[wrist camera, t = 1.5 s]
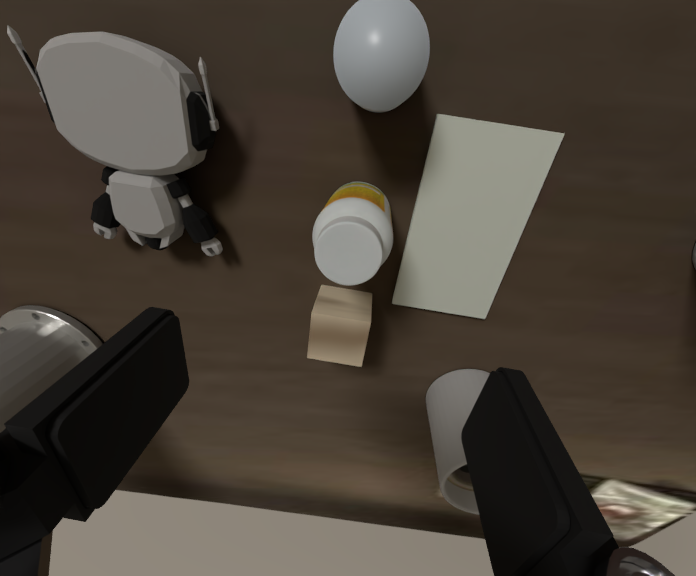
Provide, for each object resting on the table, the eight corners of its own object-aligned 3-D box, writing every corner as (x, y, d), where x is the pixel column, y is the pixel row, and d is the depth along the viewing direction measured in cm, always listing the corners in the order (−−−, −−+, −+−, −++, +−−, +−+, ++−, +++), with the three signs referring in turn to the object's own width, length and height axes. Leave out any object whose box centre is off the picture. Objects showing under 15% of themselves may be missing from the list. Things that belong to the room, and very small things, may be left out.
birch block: (364, 333, 32) (361, 367, 28) (317, 325, 32) (307, 357, 28) (372, 292, 30) (371, 322, 26) (321, 284, 30) (311, 312, 26)
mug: (469, 354, 32) (502, 441, 24) (527, 400, 35) (577, 494, 26) (397, 406, 37) (403, 495, 28) (452, 443, 39) (473, 536, 30)
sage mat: (483, 316, 30) (484, 319, 29) (391, 301, 30) (391, 303, 30) (561, 133, 22) (564, 133, 22) (436, 114, 22) (438, 113, 22)
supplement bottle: (401, 225, 26) (411, 274, 18) (347, 252, 28) (333, 309, 20) (371, 167, 24) (367, 191, 16) (315, 200, 26) (284, 238, 18)
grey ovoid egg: (407, 117, 23) (416, 116, 17) (340, 107, 23) (328, 103, 17) (425, 31, 20) (441, -1, 15) (349, 19, 20) (339, -16, 15)
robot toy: (240, 246, 30) (229, 54, 22) (219, 269, 26) (196, 46, 18) (116, 225, 30) (57, 26, 22) (77, 245, 26) (-12, 12, 18)
